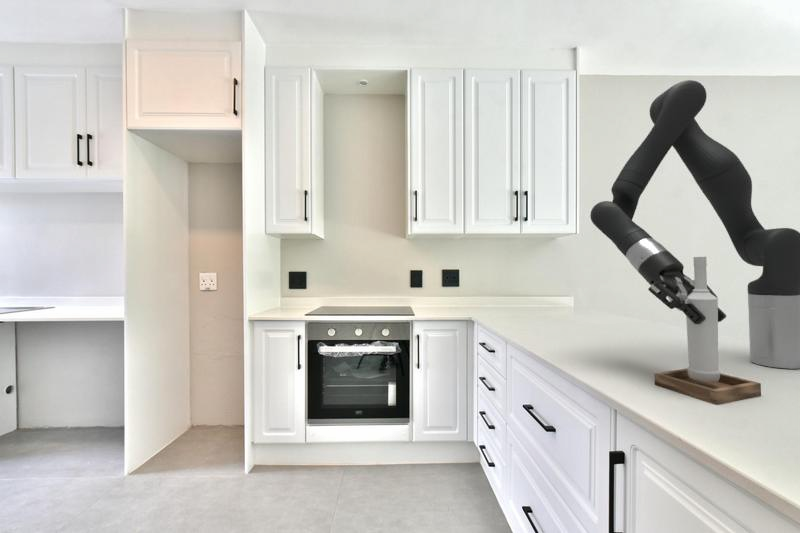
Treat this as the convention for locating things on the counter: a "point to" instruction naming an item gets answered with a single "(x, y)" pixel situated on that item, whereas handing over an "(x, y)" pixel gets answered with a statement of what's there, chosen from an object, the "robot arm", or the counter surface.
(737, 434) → the counter surface
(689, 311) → the robot arm
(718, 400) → the walnut tray
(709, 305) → the bottle
